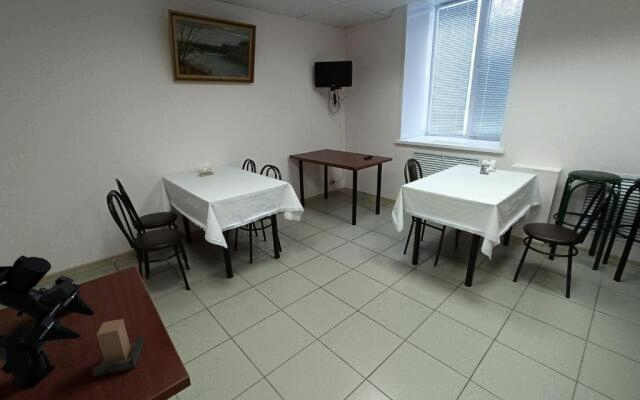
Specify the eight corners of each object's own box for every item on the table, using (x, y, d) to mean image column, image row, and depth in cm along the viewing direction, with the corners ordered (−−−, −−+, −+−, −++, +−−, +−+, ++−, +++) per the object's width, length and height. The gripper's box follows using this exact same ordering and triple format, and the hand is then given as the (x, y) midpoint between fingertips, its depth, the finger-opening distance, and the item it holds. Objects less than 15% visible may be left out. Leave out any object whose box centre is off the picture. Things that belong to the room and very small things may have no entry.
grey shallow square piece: (94, 377, 82) (91, 369, 81) (107, 349, 91) (105, 342, 90) (135, 367, 84) (133, 359, 83) (143, 342, 93) (141, 334, 92)
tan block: (106, 365, 85) (96, 334, 81) (112, 352, 89) (103, 322, 86) (126, 361, 86) (117, 330, 83) (130, 348, 91) (122, 318, 87)
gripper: (22, 297, 67) (91, 326, 73) (62, 258, 84) (116, 284, 90) (-10, 333, 67) (62, 359, 74) (37, 287, 84) (92, 311, 91)
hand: (86, 324), depth 82 cm, fingers open, 9 cm apart
